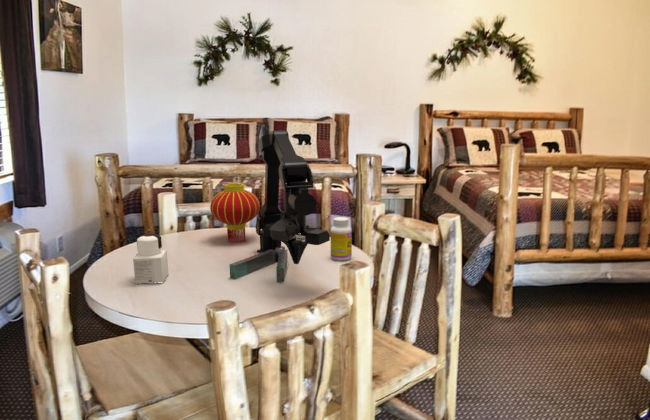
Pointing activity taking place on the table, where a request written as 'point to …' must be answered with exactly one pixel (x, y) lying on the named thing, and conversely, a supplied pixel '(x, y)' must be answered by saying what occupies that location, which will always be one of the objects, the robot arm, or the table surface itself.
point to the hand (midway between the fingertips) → (296, 263)
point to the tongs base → (254, 263)
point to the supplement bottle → (341, 239)
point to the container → (150, 260)
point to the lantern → (235, 209)
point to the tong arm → (282, 266)
